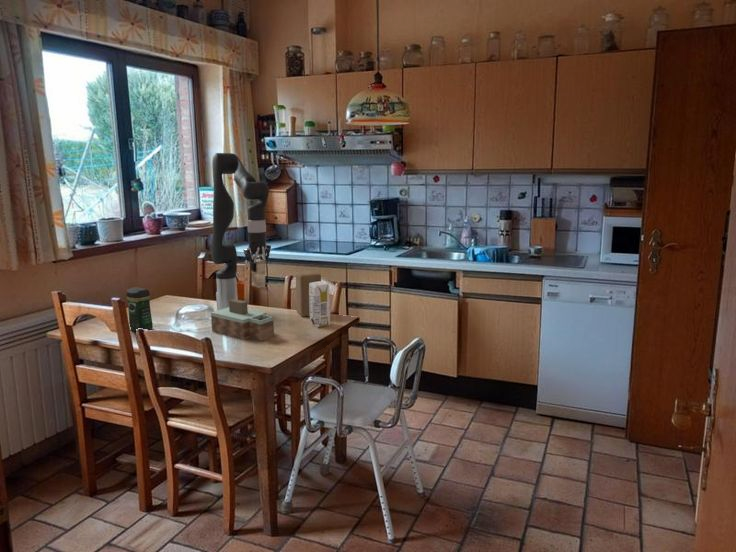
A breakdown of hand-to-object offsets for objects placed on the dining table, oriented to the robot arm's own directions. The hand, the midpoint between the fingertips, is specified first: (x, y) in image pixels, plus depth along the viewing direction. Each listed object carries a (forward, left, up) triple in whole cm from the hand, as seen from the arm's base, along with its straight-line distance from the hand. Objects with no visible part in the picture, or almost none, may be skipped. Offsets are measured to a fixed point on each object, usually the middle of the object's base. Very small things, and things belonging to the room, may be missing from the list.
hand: (258, 270), depth 241 cm
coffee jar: (-43, -29, -26) cm, 58 cm away
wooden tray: (-2, -7, -26) cm, 27 cm away
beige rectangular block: (0, 0, -7) cm, 7 cm away
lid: (-2, -7, -20) cm, 22 cm away
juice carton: (+17, +20, -26) cm, 37 cm away
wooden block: (+1, +31, -26) cm, 40 cm away
